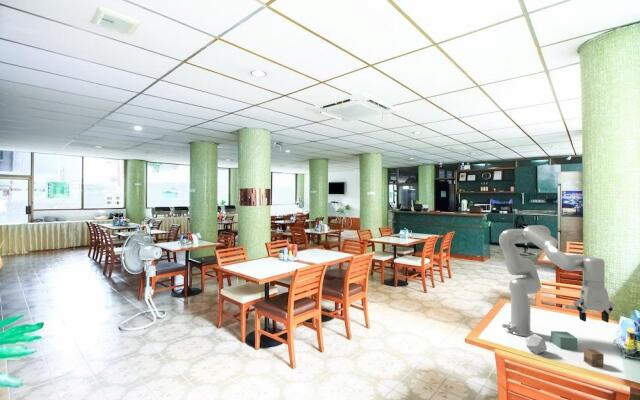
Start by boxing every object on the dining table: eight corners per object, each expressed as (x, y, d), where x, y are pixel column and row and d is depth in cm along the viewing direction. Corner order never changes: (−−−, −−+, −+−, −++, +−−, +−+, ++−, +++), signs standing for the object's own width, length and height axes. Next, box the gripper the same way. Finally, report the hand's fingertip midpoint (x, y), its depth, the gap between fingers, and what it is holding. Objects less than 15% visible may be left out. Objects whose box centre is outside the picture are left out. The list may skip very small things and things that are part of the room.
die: (531, 347, 166) (520, 332, 165) (549, 343, 161) (538, 327, 160) (533, 359, 158) (521, 344, 158) (552, 356, 154) (540, 339, 153)
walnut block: (591, 366, 145) (591, 353, 145) (583, 361, 150) (583, 348, 150) (603, 367, 145) (603, 354, 145) (595, 361, 150) (595, 349, 150)
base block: (560, 348, 163) (560, 337, 163) (550, 342, 171) (551, 331, 171) (577, 349, 162) (577, 338, 162) (566, 343, 170) (566, 331, 170)
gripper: (579, 285, 145) (580, 323, 145) (620, 287, 143) (620, 324, 143) (568, 281, 152) (568, 317, 152) (607, 282, 151) (607, 318, 151)
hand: (593, 320), depth 148 cm, fingers open, 9 cm apart
